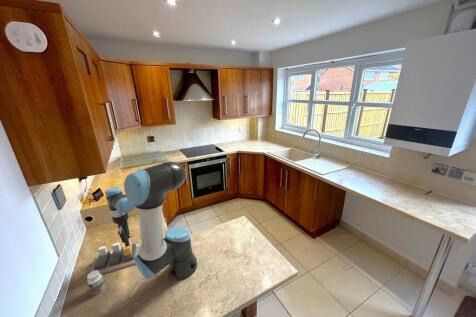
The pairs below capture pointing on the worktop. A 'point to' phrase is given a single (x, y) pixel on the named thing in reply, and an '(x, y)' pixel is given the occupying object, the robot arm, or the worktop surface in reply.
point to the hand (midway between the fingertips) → (129, 248)
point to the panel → (114, 258)
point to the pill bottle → (95, 282)
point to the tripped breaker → (127, 250)
